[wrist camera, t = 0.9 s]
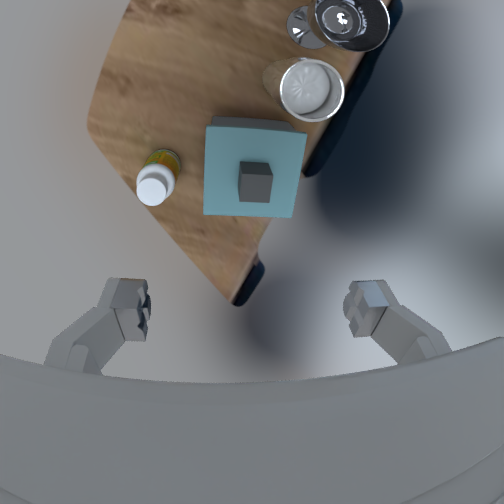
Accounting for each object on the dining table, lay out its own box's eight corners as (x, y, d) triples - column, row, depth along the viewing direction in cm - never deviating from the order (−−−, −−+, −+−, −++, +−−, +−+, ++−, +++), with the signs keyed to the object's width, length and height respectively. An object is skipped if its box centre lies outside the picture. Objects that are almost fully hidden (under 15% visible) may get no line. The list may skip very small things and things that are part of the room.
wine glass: (346, 23, 30) (401, 16, 19) (320, 61, 34) (366, 67, 23) (301, -6, 27) (339, -32, 16) (273, 33, 31) (299, 21, 20)
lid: (206, 124, 32) (204, 135, 28) (305, 132, 34) (316, 144, 30) (203, 211, 39) (201, 231, 35) (290, 214, 41) (297, 234, 37)
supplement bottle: (164, 141, 40) (150, 164, 32) (188, 165, 43) (180, 193, 35) (140, 164, 42) (123, 191, 34) (163, 186, 45) (152, 218, 37)
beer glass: (248, 82, 36) (262, 94, 24) (279, 47, 33) (309, 43, 21) (286, 110, 39) (315, 137, 27) (316, 77, 36) (359, 90, 24)
